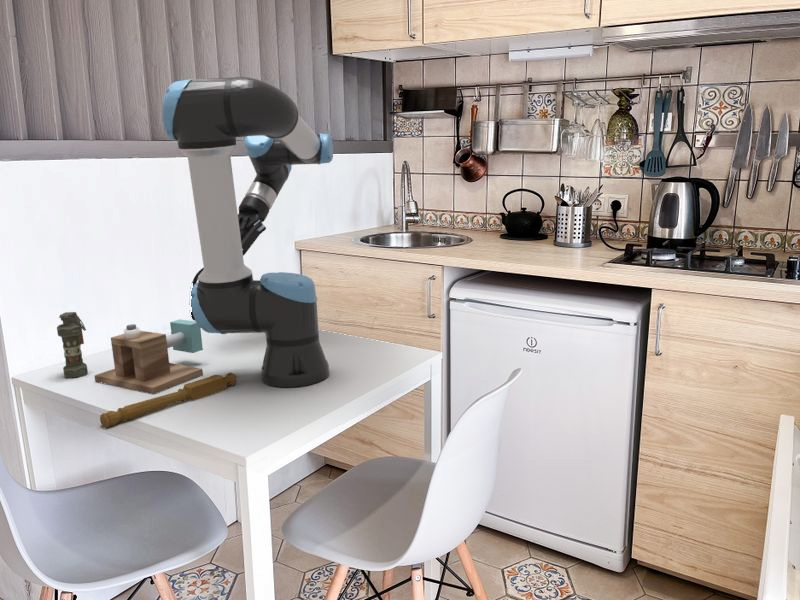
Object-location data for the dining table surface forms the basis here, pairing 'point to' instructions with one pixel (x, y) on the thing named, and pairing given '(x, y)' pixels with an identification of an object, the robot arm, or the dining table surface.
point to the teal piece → (185, 336)
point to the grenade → (72, 344)
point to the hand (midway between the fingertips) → (217, 275)
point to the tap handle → (169, 399)
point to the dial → (131, 332)
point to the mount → (145, 364)
